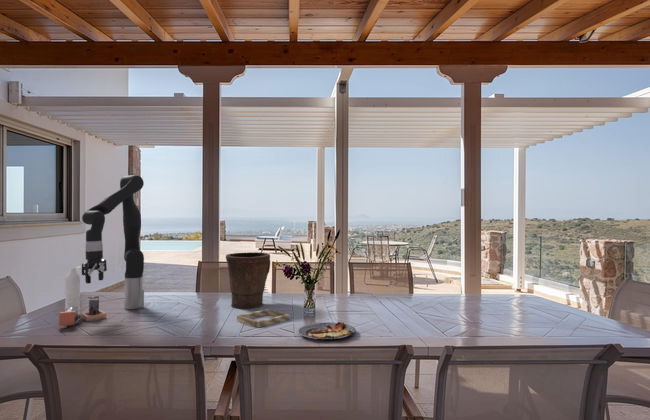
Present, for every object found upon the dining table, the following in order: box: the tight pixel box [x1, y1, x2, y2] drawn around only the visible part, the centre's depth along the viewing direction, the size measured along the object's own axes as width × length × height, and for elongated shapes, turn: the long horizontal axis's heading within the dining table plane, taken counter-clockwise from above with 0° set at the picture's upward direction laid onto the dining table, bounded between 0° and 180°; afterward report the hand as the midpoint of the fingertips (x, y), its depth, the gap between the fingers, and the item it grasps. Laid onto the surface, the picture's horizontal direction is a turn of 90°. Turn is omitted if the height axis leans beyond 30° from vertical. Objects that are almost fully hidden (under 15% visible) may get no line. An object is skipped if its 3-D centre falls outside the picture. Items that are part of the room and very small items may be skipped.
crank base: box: [75, 318, 84, 325], centre depth 189 cm, size 9×9×1 cm
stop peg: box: [88, 295, 100, 316], centre depth 198 cm, size 4×4×10 cm
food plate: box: [298, 321, 356, 340], centre depth 171 cm, size 25×23×4 cm
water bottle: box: [64, 265, 82, 317], centre depth 204 cm, size 9×6×25 cm
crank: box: [58, 307, 79, 327], centre depth 186 cm, size 12×6×6 cm, turn 22°
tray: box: [80, 309, 107, 323], centre depth 197 cm, size 9×9×2 cm
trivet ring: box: [236, 308, 290, 328], centre depth 194 cm, size 21×18×2 cm
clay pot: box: [225, 251, 271, 310], centre depth 229 cm, size 25×29×30 cm
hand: (94, 281), depth 197 cm, fingers open, 8 cm apart
